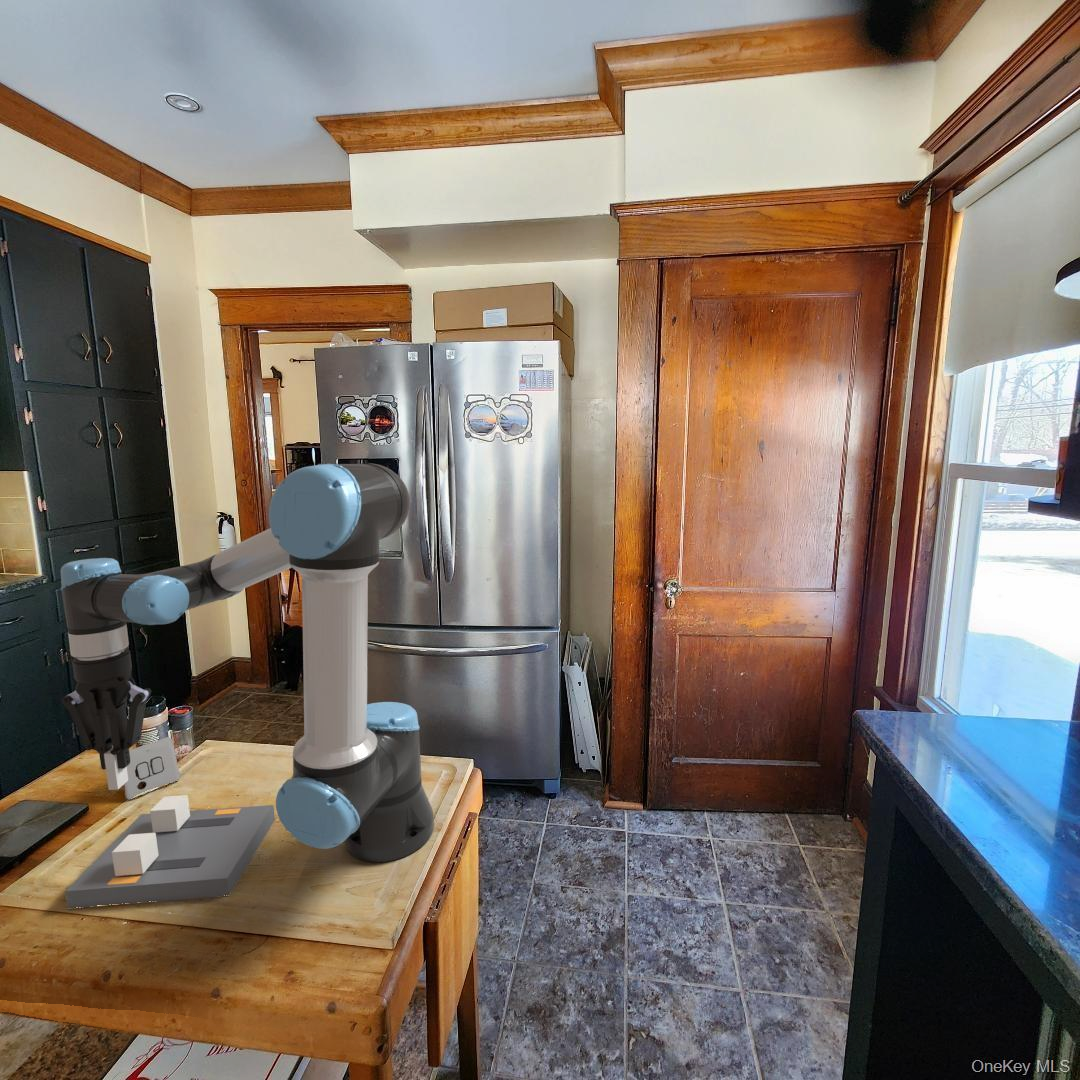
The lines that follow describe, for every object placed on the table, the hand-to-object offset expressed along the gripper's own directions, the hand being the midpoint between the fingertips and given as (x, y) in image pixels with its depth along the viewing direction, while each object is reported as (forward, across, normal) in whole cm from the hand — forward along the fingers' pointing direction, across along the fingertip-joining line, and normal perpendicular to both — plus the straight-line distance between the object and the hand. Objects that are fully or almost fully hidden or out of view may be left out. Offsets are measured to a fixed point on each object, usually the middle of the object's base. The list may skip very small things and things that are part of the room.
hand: (118, 784), depth 95 cm
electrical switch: (+12, +6, -18) cm, 22 cm away
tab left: (+8, -8, +10) cm, 15 cm away
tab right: (+8, -8, 0) cm, 11 cm away
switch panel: (+11, -12, +5) cm, 17 cm away
